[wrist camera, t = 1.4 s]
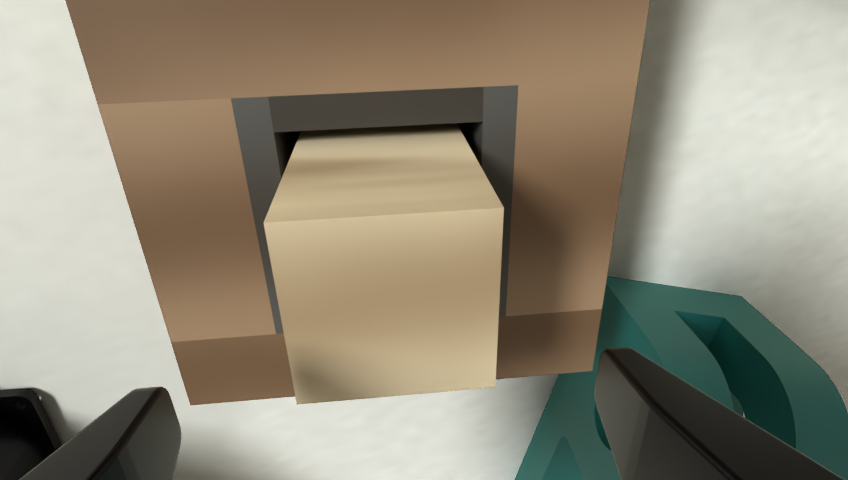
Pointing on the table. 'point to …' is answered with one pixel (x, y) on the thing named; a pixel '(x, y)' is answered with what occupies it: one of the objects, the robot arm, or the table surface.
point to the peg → (386, 263)
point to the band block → (362, 108)
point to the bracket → (692, 379)
